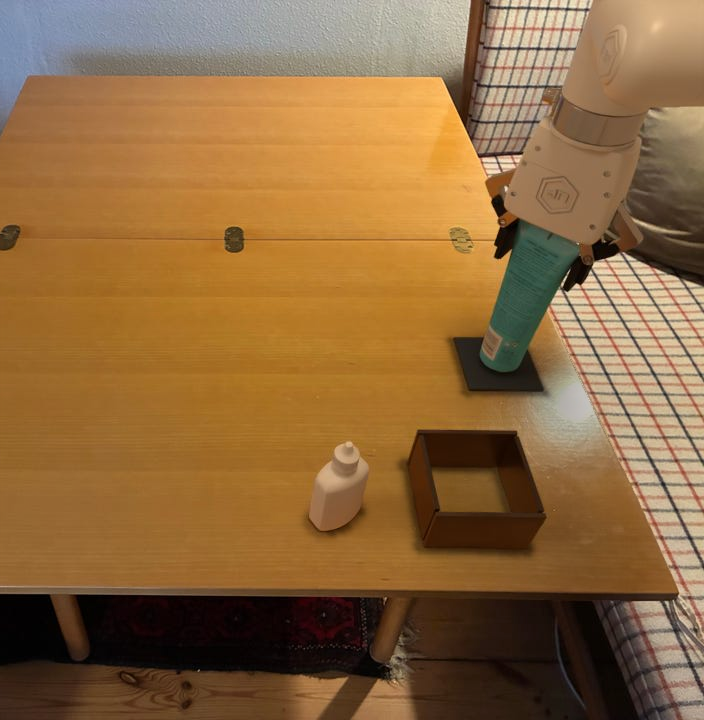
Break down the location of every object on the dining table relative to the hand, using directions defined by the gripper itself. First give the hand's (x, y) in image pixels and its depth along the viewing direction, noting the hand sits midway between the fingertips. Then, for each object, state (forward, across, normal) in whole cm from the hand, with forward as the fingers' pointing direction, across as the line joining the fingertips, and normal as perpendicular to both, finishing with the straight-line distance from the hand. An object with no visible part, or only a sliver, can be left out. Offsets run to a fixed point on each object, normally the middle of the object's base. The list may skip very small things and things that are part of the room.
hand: (536, 268), depth 76 cm
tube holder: (+16, +8, -21) cm, 27 cm away
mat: (+16, 0, 0) cm, 16 cm away
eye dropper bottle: (+16, -2, -31) cm, 35 cm away
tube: (+14, 0, 0) cm, 14 cm away
